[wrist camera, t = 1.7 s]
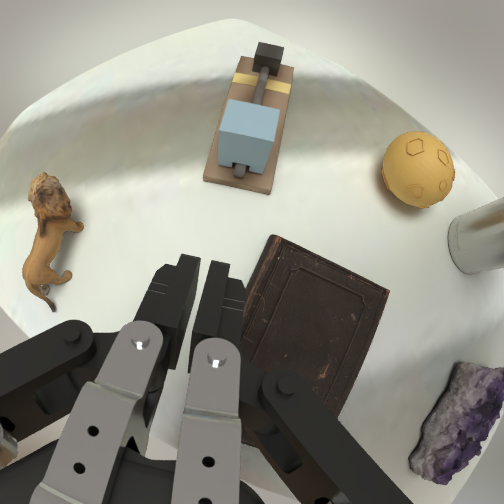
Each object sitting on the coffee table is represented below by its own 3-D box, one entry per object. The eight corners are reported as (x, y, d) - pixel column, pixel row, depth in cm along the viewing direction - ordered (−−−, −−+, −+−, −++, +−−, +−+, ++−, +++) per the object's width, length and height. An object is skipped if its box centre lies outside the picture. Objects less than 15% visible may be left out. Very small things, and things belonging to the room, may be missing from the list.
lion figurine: (58, 195, 33) (23, 167, 24) (91, 196, 33) (60, 166, 25) (40, 308, 30) (-3, 307, 21) (74, 315, 31) (34, 316, 22)
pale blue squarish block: (268, 145, 35) (280, 109, 27) (262, 174, 34) (273, 141, 27) (225, 136, 34) (228, 98, 27) (218, 164, 34) (218, 130, 26)
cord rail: (292, 73, 40) (299, 51, 35) (269, 194, 36) (277, 177, 31) (240, 62, 39) (243, 39, 34) (203, 180, 35) (201, 161, 30)
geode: (434, 477, 31) (464, 501, 22) (389, 461, 33) (417, 489, 23) (495, 372, 35) (534, 377, 25) (457, 345, 36) (499, 348, 27)
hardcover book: (381, 291, 36) (390, 290, 34) (307, 455, 31) (312, 462, 29) (268, 237, 35) (272, 232, 33) (186, 414, 31) (185, 421, 28)
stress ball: (366, 146, 39) (400, 108, 29) (419, 157, 40) (458, 127, 30) (374, 213, 37) (418, 186, 27) (430, 219, 38) (476, 198, 28)
